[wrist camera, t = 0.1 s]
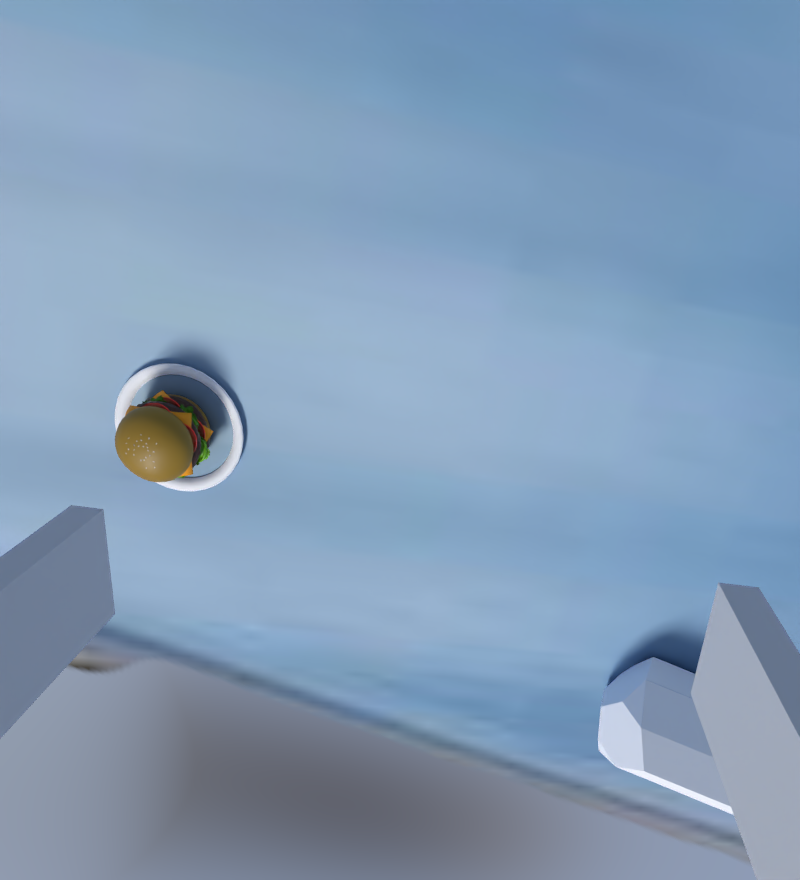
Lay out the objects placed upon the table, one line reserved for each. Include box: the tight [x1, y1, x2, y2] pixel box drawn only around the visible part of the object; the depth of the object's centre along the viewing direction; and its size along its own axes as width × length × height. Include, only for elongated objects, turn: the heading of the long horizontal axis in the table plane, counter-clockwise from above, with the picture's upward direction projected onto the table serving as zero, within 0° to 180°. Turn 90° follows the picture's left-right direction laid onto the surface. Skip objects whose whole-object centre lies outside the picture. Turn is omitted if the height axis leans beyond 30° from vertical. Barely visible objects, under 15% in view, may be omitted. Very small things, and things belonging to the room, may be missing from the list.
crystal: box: [598, 657, 734, 815], centre depth 45 cm, size 7×7×24 cm
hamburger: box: [115, 363, 244, 491], centre depth 44 cm, size 12×12×6 cm
